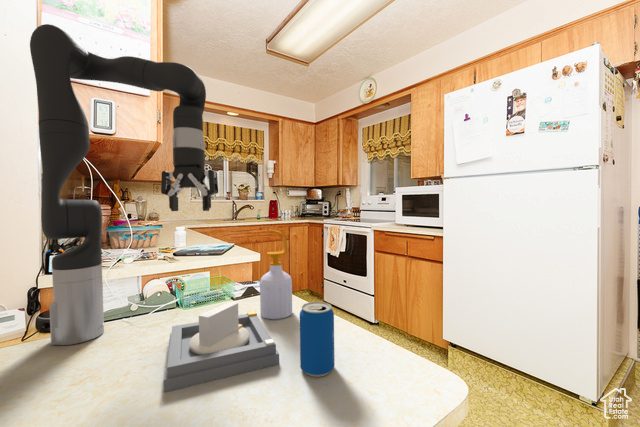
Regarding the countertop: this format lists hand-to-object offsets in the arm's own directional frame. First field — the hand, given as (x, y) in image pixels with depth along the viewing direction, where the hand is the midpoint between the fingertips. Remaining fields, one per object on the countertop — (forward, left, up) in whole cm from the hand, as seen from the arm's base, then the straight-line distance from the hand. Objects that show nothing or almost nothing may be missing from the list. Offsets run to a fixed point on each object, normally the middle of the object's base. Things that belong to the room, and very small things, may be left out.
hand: (190, 211), depth 76 cm
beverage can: (+21, -33, -30) cm, 49 cm away
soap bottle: (+22, -2, -30) cm, 38 cm away
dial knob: (+5, -18, -28) cm, 34 cm away
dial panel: (+5, -18, -30) cm, 35 cm away
